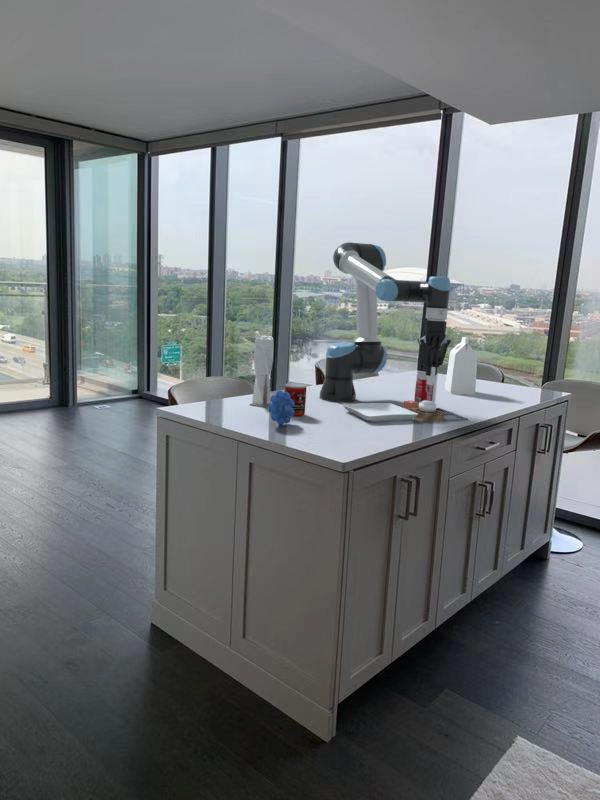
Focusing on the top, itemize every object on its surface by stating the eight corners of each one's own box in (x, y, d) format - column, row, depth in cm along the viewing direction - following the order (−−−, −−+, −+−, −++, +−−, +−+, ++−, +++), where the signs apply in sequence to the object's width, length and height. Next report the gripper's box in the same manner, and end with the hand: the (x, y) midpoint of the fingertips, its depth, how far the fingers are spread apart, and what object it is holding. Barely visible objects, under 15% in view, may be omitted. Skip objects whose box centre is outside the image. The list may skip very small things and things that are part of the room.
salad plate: (340, 412, 234) (341, 403, 233) (389, 410, 242) (390, 402, 241) (367, 425, 215) (367, 415, 214) (418, 423, 223) (419, 413, 222)
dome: (424, 412, 225) (425, 403, 224) (415, 408, 230) (416, 400, 230) (439, 411, 227) (440, 403, 226) (429, 408, 233) (430, 399, 232)
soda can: (433, 407, 252) (436, 378, 249) (429, 409, 245) (432, 380, 243) (416, 404, 254) (418, 376, 252) (411, 407, 248) (414, 378, 246)
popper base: (422, 421, 224) (423, 413, 223) (409, 416, 232) (410, 408, 231) (443, 420, 227) (444, 412, 226) (430, 415, 235) (430, 407, 234)
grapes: (277, 430, 199) (279, 393, 196) (263, 426, 203) (264, 390, 201) (302, 425, 207) (304, 390, 205) (287, 421, 212) (289, 387, 209)
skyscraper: (246, 404, 235) (249, 331, 230) (256, 401, 243) (259, 330, 237) (265, 407, 232) (269, 333, 227) (275, 404, 239) (279, 332, 234)
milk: (475, 395, 285) (481, 339, 280) (450, 393, 285) (456, 337, 280) (468, 390, 297) (474, 336, 292) (444, 389, 297) (450, 335, 292)
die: (410, 413, 237) (411, 402, 236) (403, 411, 240) (403, 400, 239) (417, 412, 239) (418, 402, 239) (410, 410, 242) (411, 400, 242)
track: (445, 421, 226) (445, 419, 226) (417, 409, 244) (417, 408, 244) (468, 420, 230) (468, 418, 230) (438, 409, 248) (439, 407, 248)
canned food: (289, 417, 218) (291, 386, 216) (280, 412, 225) (281, 383, 223) (308, 416, 222) (310, 386, 220) (298, 411, 229) (300, 382, 227)
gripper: (426, 320, 216) (420, 386, 221) (457, 321, 221) (451, 385, 225) (415, 318, 223) (409, 382, 228) (445, 319, 228) (439, 382, 232)
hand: (430, 384), depth 226 cm, fingers closed
